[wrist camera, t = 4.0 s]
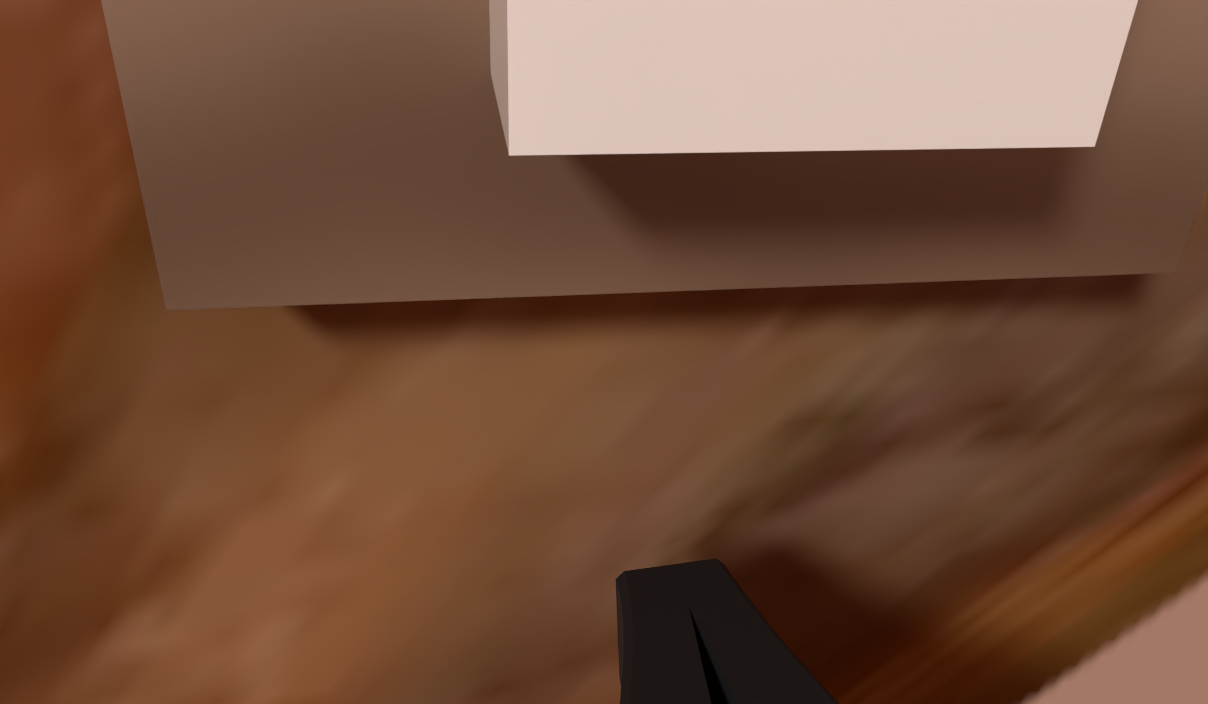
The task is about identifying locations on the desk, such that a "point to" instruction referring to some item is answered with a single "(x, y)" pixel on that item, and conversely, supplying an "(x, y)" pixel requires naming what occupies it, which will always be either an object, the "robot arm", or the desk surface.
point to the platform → (592, 173)
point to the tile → (802, 74)
